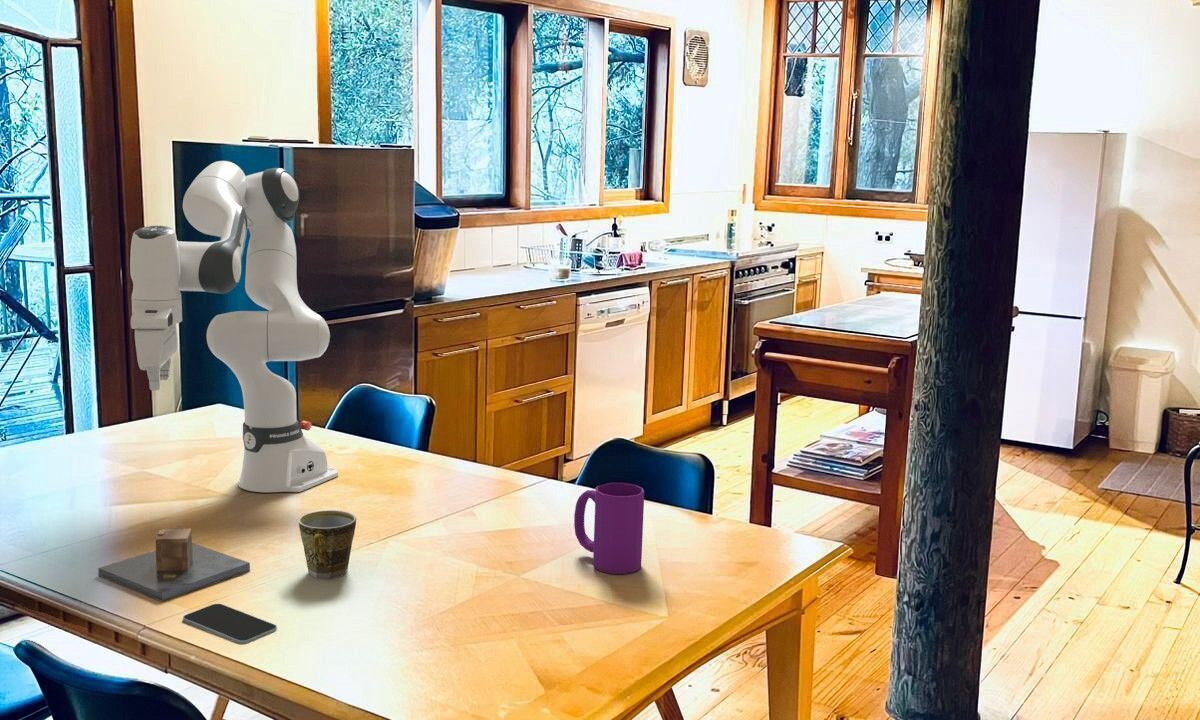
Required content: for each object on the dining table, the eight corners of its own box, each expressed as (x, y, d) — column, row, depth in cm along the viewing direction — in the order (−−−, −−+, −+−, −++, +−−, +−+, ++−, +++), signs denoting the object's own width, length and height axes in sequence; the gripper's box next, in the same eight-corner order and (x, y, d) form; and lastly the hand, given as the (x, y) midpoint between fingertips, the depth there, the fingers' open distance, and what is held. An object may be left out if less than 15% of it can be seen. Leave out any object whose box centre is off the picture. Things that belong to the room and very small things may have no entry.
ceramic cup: (308, 561, 211) (307, 509, 209) (362, 563, 211) (362, 511, 209) (287, 587, 198) (286, 532, 196) (344, 590, 198) (344, 535, 196)
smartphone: (242, 642, 176) (179, 616, 184) (242, 648, 176) (179, 622, 184) (280, 626, 182) (217, 602, 190) (280, 631, 182) (217, 607, 190)
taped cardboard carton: (192, 559, 206) (191, 526, 205) (187, 569, 201) (186, 536, 200) (162, 560, 205) (160, 527, 204) (156, 571, 200) (155, 537, 199)
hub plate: (186, 548, 215) (185, 520, 214) (249, 570, 205) (249, 541, 204) (98, 576, 201) (97, 546, 200) (162, 601, 191) (160, 570, 190)
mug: (618, 579, 207) (621, 500, 204) (557, 557, 217) (559, 481, 215) (651, 567, 214) (655, 489, 211) (590, 545, 224) (593, 471, 221)
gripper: (150, 305, 227) (153, 373, 229) (128, 321, 207) (131, 396, 209) (183, 305, 228) (186, 373, 230) (165, 321, 208) (168, 395, 211)
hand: (160, 384), depth 220 cm, fingers open, 8 cm apart
